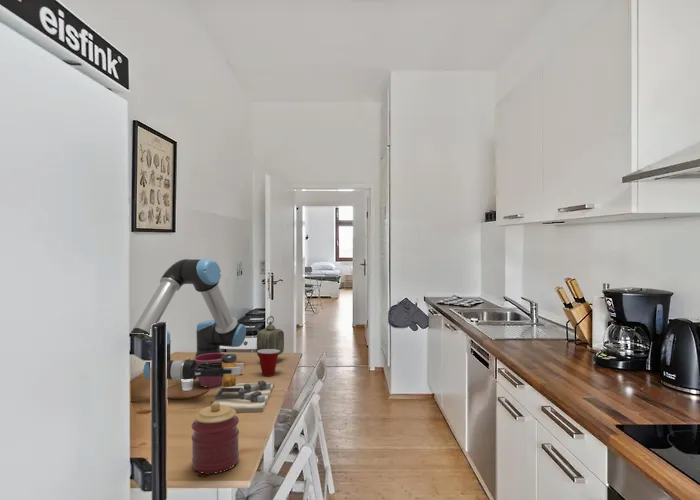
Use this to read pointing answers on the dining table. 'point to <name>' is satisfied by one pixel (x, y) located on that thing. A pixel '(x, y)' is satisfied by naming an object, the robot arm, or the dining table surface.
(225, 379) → the orange translucent cylinder
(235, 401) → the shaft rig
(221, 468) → the canister
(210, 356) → the plant pot
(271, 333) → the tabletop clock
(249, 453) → the dining table surface
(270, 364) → the plastic cup
